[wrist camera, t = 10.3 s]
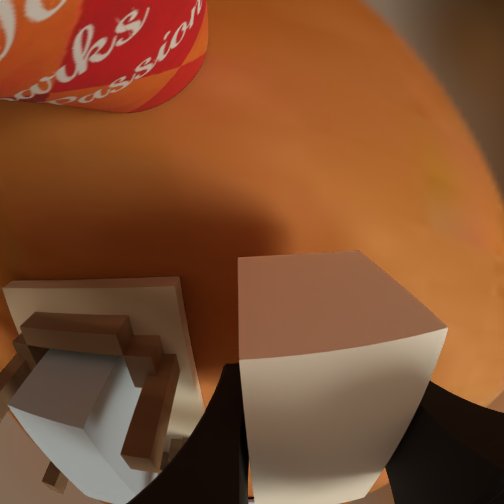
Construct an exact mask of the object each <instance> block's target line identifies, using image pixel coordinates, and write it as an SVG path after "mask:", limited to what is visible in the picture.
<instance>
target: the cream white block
mask: <svg viewBox="0 0 504 504" xmlns="http://www.w3.org/2000/svg"><path fill="white" fill-rule="evenodd" d="M238 326H239V365H240V375H241V386H242V396H243V406H244V415H245V425H246V434H247V443H248V452H249V461H250V469H251V478H252V486H253V494H254V502H255V504H340V503H344V502H348V501H352V500H356V499H359V498H363V497H365V495H366V494H367V492H368V491H369V490H370V488H371V487H372V485H373V484H374V483H375V481H376V480H377V478H378V477H379V475H380V474H381V472H382V471H383V469H384V468H385V466H386V464H387V463H388V461H389V460H390V458H391V456H392V455H393V453H394V451H395V450H396V448H397V446H398V444H399V443H400V441H401V439H402V437H403V435H404V434H405V432H406V430H407V428H408V426H409V424H410V422H411V420H412V418H413V416H414V414H415V412H416V410H417V408H418V406H419V404H420V402H421V399H422V397H423V395H424V393H425V390H426V388H427V386H428V383H429V381H430V379H431V376H432V374H433V371H434V368H435V366H436V363H437V360H438V358H439V355H440V352H441V349H442V346H443V343H444V340H445V337H446V334H447V331H448V328H449V327H447V326H446V325H445V324H444V323H443V322H442V321H441V320H440V319H439V318H438V317H437V316H435V315H434V314H433V313H432V312H431V311H430V310H429V309H428V308H427V307H425V306H424V305H423V304H422V303H421V302H420V301H419V300H418V299H416V298H415V297H414V296H413V295H412V294H411V293H409V292H408V291H407V290H406V289H405V288H404V287H402V286H401V285H400V284H399V283H398V282H397V281H395V280H394V279H393V278H392V277H391V276H389V275H388V274H387V273H386V272H385V271H383V270H382V269H381V268H380V267H378V266H377V265H376V264H375V263H374V262H372V261H371V260H370V259H369V258H367V257H366V256H365V255H364V254H362V253H361V252H360V251H359V250H355V251H338V252H322V253H305V254H288V255H271V256H254V257H238Z"/></svg>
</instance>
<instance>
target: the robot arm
mask: <svg viewBox="0 0 504 504" xmlns="http://www.w3.org/2000/svg"><path fill="white" fill-rule="evenodd" d="M248 467H249V452H248V443H247V434H246V425H245V415H244V406H243V396H242V386H241V375H240V365H239V363H234V364H226V365H225V366H224V367H223V371H222V374H221V377H220V380H219V382H218V385H217V387H216V390H215V392H214V394H213V396H212V398H211V400H210V402H209V404H208V406H207V408H206V410H205V412H204V414H203V416H202V417H201V419H200V420H199V422H198V424H197V425H196V427H195V429H194V430H193V432H192V434H191V435H190V436H189V438H188V439H187V441H186V442H185V444H184V445H183V446H182V448H181V449H180V450H179V452H178V453H177V454H176V455H175V457H174V458H173V459H172V460H171V461H170V462H169V464H168V465H167V466H166V467H165V468H164V469H163V470H162V472H161V473H160V474H159V475H158V476H157V477H156V478H155V479H154V480H153V481H152V482H151V483H150V484H148V485H147V486H146V487H145V488H144V489H143V490H142V491H141V492H140V493H138V494H137V495H136V496H135V497H134V498H133V499H131V500H130V501H129V502H128V503H126V504H255V502H254V499H248ZM385 468H386V471H387V475H388V478H389V482H390V485H391V489H392V493H393V497H394V502H395V504H504V413H502V412H498V411H494V410H491V409H488V408H485V407H482V406H479V405H477V404H474V403H472V402H469V401H467V400H465V399H463V398H461V397H458V396H456V395H454V394H452V393H450V392H448V391H447V390H445V389H443V388H441V387H440V386H438V385H436V384H434V383H433V382H431V381H429V383H428V386H427V388H426V390H425V393H424V395H423V397H422V399H421V402H420V404H419V406H418V408H417V410H416V412H415V414H414V416H413V418H412V420H411V422H410V424H409V426H408V428H407V430H406V432H405V434H404V435H403V437H402V439H401V441H400V443H399V444H398V446H397V448H396V450H395V451H394V453H393V455H392V456H391V458H390V460H389V461H388V463H387V464H386V466H385Z"/></svg>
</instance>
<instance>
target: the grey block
mask: <svg viewBox="0 0 504 504" xmlns="http://www.w3.org/2000/svg"><path fill="white" fill-rule="evenodd" d="M139 396H140V390H139V388H136V387H135V386H134V384H133V381H132V379H131V376H130V373H129V371H128V368H127V365H126V362H125V360H124V357H123V356H119V355H105V354H94V353H83V352H74V351H66V350H58V349H51V348H50V349H49V350H48V351H47V353H46V354H45V355H44V356H43V358H42V359H41V360H40V361H39V363H38V364H37V365H36V367H35V368H34V369H33V370H32V372H31V373H30V374H29V376H28V377H27V378H26V380H25V381H24V382H23V384H22V385H21V386H20V388H19V389H18V390H17V392H16V393H15V395H14V396H13V397H12V399H11V400H10V402H9V403H8V407H9V408H10V410H11V411H12V412H13V414H14V415H15V417H16V418H17V420H18V421H19V422H20V424H21V425H22V426H23V428H24V429H25V430H26V432H27V433H28V434H29V436H30V437H31V438H32V439H33V441H34V442H35V443H36V444H37V445H38V447H39V448H40V449H41V450H42V451H43V452H44V454H45V455H46V456H47V457H48V458H49V459H50V460H51V461H52V463H53V464H54V465H55V466H56V467H57V468H58V469H59V470H60V471H61V472H62V473H63V474H64V475H65V476H66V477H67V478H68V479H69V480H70V481H71V482H72V483H73V484H74V485H75V486H76V487H77V488H78V489H79V490H81V491H82V492H83V493H84V494H85V495H86V496H89V497H92V498H95V499H98V500H102V501H105V502H109V503H113V504H126V503H128V502H129V501H130V500H131V499H133V498H134V497H135V496H136V495H137V494H138V493H140V492H141V491H142V490H143V489H144V488H145V487H146V486H147V485H148V484H150V483H151V482H152V481H153V480H154V479H155V478H156V477H157V475H158V473H154V472H146V471H140V470H134V469H130V467H129V466H128V465H127V463H126V462H125V460H124V459H123V458H122V456H121V455H120V453H121V450H122V447H123V444H124V441H125V437H126V434H127V431H128V428H129V425H130V422H131V419H132V416H133V413H134V410H135V407H136V404H137V401H138V398H139Z"/></svg>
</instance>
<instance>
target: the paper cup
mask: <svg viewBox="0 0 504 504" xmlns="http://www.w3.org/2000/svg"><path fill="white" fill-rule="evenodd" d="M207 46H208V12H207V0H0V100H9V101H24V102H36V103H46V104H55V105H64V106H72V107H79V108H86V109H93V110H101V111H108V112H118V113H132V112H139V111H144V110H148V109H151V108H153V107H156V106H158V105H161V104H163V103H164V102H166V101H168V100H170V99H171V98H173V97H174V96H176V95H177V94H178V93H179V92H181V91H182V90H183V89H184V88H185V87H186V86H187V85H188V84H189V83H190V82H191V80H192V79H193V78H194V77H195V75H196V74H197V72H198V71H199V69H200V67H201V65H202V63H203V61H204V58H205V55H206V51H207Z"/></svg>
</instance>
